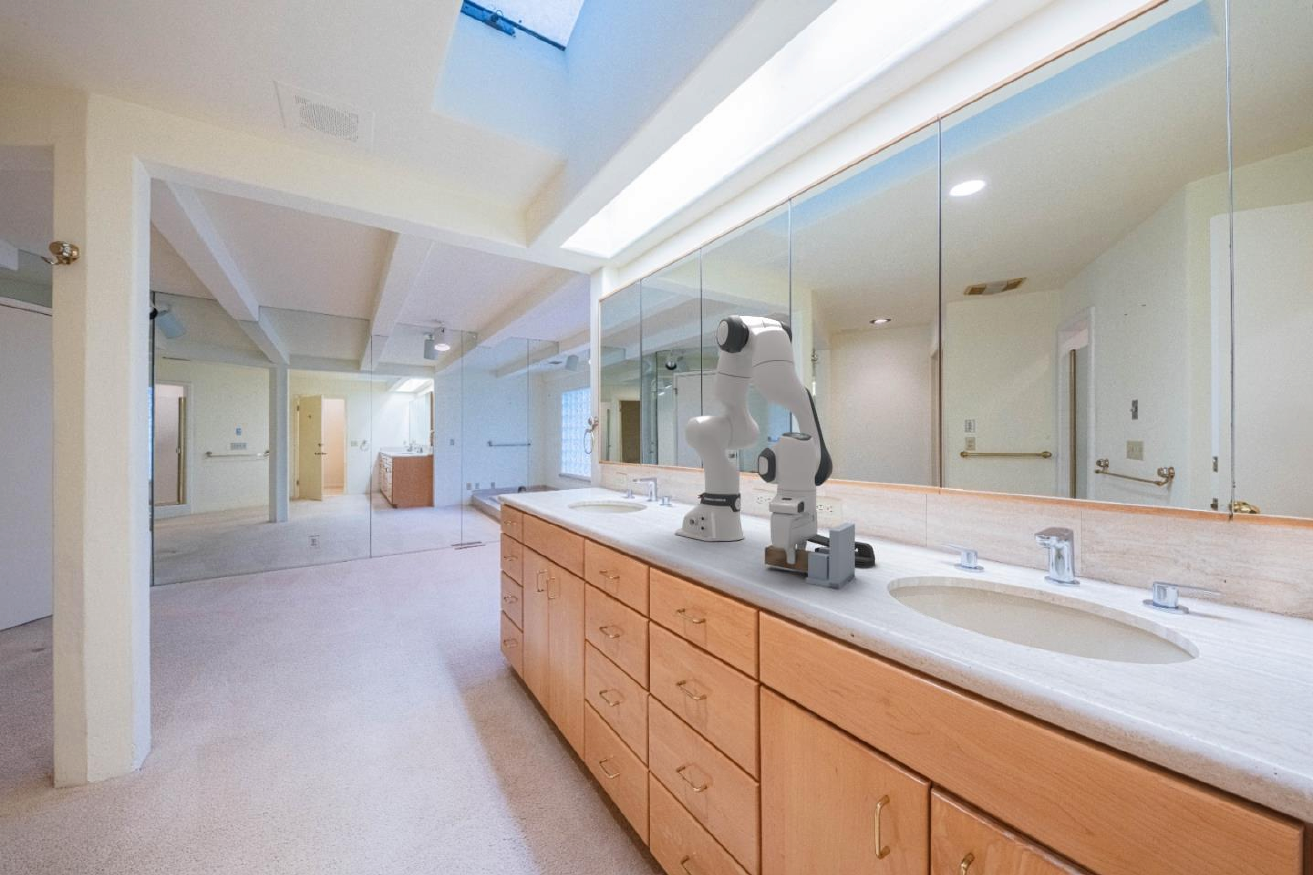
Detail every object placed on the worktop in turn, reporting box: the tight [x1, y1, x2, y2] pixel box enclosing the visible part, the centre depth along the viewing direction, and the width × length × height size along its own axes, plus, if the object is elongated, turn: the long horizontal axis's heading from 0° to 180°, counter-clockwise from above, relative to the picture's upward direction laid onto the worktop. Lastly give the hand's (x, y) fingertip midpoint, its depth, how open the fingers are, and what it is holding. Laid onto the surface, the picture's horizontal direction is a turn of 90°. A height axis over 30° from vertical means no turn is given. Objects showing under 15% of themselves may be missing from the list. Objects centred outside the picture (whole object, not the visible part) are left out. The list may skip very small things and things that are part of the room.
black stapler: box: [807, 533, 876, 569], centre depth 122 cm, size 9×7×25 cm
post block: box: [805, 522, 856, 590], centre depth 102 cm, size 7×12×12 cm, turn 142°
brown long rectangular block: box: [764, 544, 829, 573], centre depth 107 cm, size 14×4×4 cm, turn 52°
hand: (795, 561), depth 107 cm, fingers closed on brown long rectangular block, 3 cm apart
